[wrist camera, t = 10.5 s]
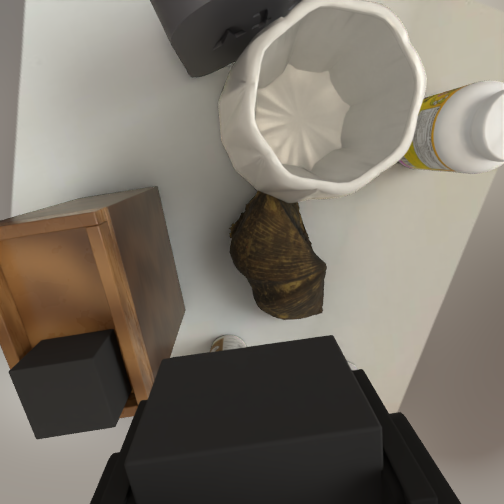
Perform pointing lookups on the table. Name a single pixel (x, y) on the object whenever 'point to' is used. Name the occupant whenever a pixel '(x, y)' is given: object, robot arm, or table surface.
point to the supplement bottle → (460, 130)
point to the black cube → (258, 430)
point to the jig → (93, 280)
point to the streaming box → (215, 28)
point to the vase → (322, 100)
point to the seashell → (278, 258)
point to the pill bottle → (227, 343)
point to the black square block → (72, 384)
